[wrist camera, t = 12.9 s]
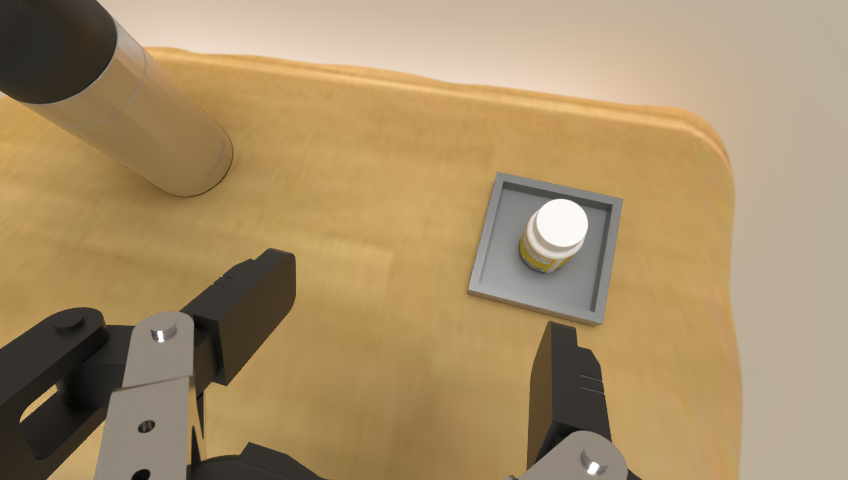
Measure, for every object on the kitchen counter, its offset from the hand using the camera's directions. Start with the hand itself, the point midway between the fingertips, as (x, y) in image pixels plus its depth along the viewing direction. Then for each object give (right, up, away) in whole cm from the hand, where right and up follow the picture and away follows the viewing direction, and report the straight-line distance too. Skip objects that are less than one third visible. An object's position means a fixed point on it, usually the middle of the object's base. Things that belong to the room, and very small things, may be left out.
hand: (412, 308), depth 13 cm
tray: (+12, +1, +29) cm, 32 cm away
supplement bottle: (+12, +1, +29) cm, 31 cm away
